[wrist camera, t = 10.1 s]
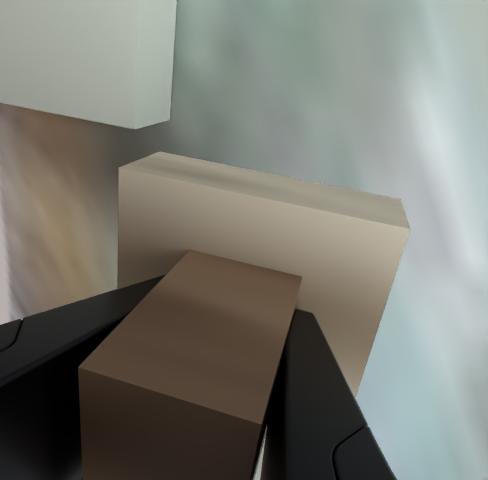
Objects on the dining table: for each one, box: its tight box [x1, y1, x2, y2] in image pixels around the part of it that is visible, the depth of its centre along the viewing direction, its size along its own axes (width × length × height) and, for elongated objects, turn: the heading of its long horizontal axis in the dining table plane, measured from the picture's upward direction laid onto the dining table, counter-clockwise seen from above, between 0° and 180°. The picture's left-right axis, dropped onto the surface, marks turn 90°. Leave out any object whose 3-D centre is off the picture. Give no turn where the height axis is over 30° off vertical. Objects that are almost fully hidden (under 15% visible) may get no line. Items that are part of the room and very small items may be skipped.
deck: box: [0, 0, 177, 129], centre depth 15 cm, size 7×7×3 cm
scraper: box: [78, 151, 410, 480], centre depth 8 cm, size 6×6×6 cm
